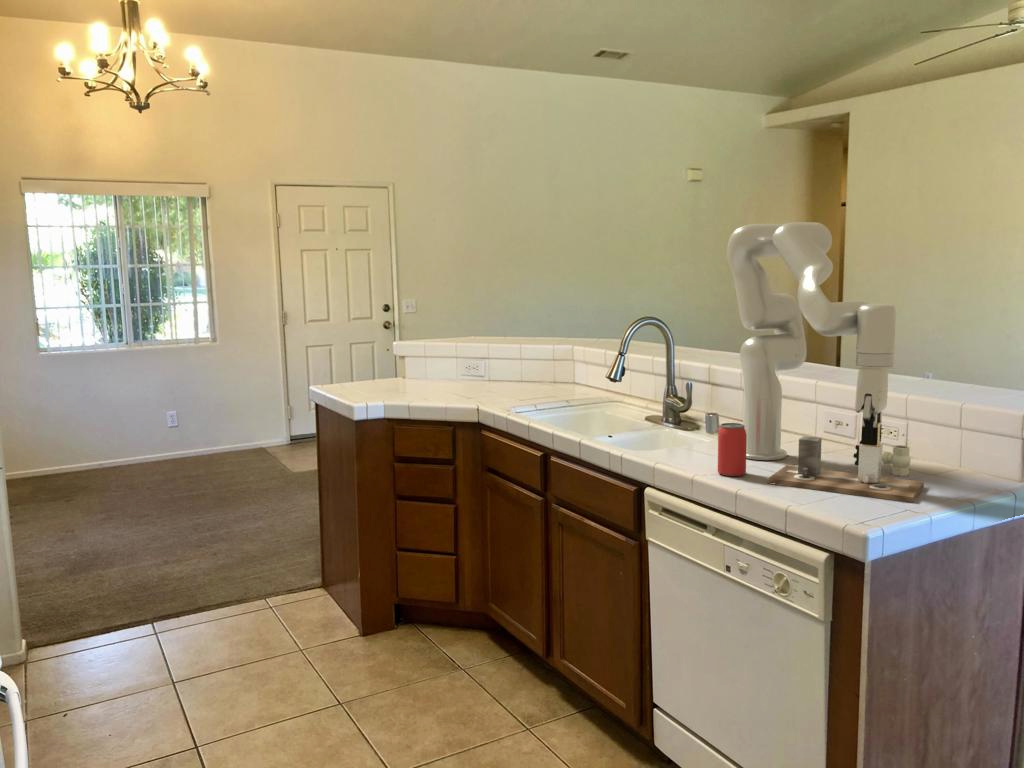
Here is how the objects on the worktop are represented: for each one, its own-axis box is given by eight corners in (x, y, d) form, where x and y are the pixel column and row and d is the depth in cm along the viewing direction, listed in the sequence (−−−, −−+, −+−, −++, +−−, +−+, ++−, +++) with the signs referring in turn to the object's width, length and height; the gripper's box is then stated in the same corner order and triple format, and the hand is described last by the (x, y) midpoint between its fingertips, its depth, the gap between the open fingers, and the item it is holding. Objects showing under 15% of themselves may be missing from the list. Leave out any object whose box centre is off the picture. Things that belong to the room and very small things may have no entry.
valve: (915, 473, 188) (866, 464, 197) (916, 446, 187) (867, 438, 196) (902, 478, 184) (852, 469, 193) (903, 450, 183) (853, 442, 192)
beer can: (733, 478, 186) (733, 428, 184) (711, 473, 191) (712, 424, 190) (751, 474, 189) (752, 425, 188) (730, 469, 195) (731, 421, 193)
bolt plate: (767, 483, 181) (768, 441, 180) (786, 470, 193) (787, 431, 191) (912, 502, 164) (914, 457, 163) (923, 487, 175) (925, 444, 174)
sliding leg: (855, 483, 174) (857, 425, 172) (861, 476, 179) (864, 420, 177) (875, 485, 171) (877, 426, 170) (881, 478, 177) (883, 421, 175)
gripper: (864, 356, 181) (861, 434, 184) (847, 363, 168) (844, 448, 171) (900, 357, 177) (896, 438, 179) (885, 365, 164) (881, 452, 166)
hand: (871, 442), depth 175 cm, fingers closed on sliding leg, 3 cm apart
